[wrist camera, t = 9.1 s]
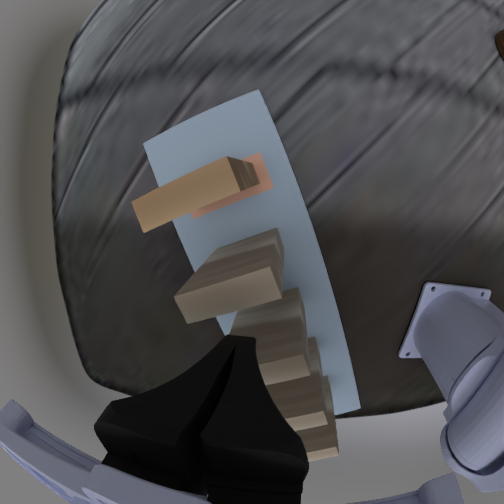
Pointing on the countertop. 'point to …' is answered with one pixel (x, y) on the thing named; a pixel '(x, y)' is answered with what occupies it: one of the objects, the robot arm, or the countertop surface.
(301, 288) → the mat
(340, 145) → the countertop surface
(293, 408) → the domino
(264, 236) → the domino
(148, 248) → the countertop surface
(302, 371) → the domino
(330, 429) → the domino
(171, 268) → the countertop surface
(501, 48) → the utensil holder
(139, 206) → the domino
